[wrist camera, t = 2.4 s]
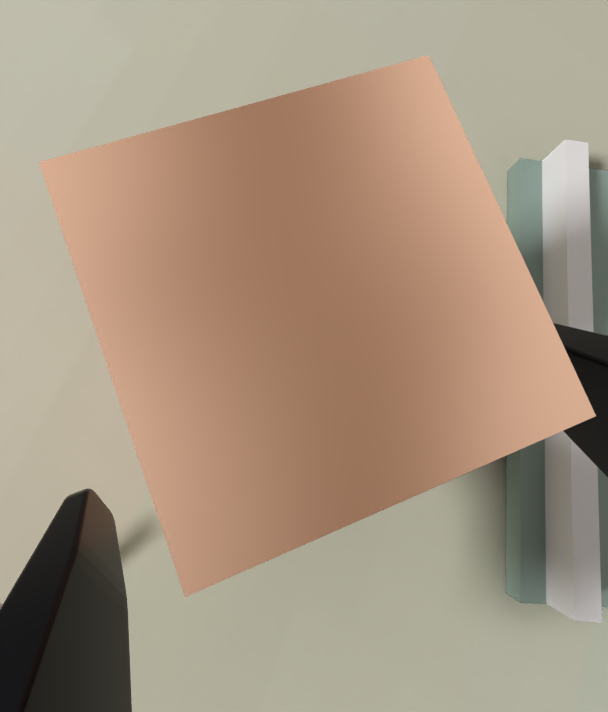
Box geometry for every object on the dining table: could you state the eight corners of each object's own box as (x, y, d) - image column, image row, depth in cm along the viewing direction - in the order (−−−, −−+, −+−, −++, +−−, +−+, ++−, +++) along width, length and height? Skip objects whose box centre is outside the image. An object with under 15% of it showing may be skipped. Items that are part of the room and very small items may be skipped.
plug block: (311, 311, 19) (429, 55, 6) (356, 425, 18) (595, 415, 5) (194, 353, 18) (38, 162, 5) (238, 473, 17) (185, 597, 5)
